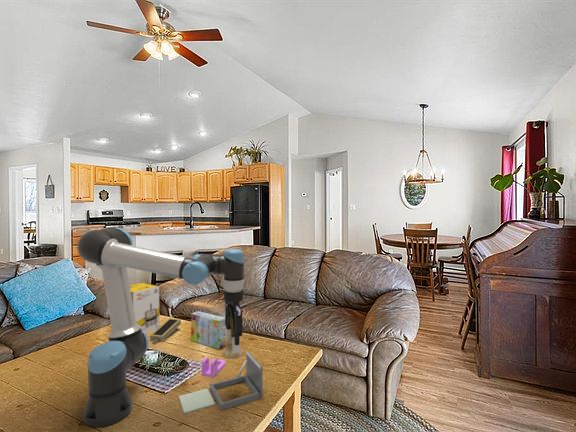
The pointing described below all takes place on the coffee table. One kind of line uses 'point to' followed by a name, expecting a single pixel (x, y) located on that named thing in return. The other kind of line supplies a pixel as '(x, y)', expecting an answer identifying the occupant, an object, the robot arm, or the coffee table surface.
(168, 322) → the box
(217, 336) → the snack box
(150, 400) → the coffee table surface
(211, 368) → the bracket
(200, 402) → the pad
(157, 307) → the packaging box
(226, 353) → the hand bell
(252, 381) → the hatch
